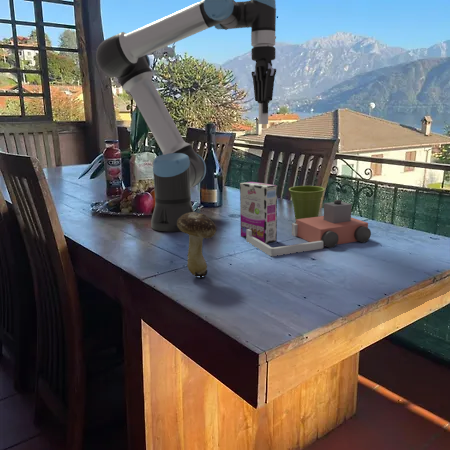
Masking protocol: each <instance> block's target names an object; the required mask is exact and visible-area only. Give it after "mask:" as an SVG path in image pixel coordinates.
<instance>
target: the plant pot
mask: <svg viewBox="0 0 450 450" xmlns="http://www.w3.org/2000/svg"><path fill="white" fill-rule="evenodd" d="M325 190H326V188H325V187H322V186H320V185H319V186H317V185H298V186H291V187H289V188H288V191H289V192H290V197H291V200H292V205H293V213H294V219H295V220H294V221H296V219H303V218H311V217H319V213H320V207H321V201H322V197H323V194H324V191H325Z"/></svg>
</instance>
